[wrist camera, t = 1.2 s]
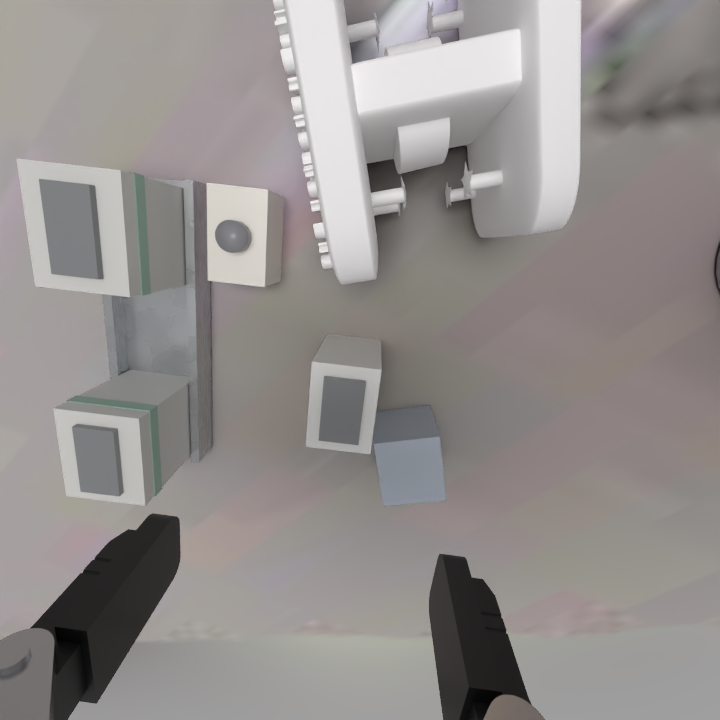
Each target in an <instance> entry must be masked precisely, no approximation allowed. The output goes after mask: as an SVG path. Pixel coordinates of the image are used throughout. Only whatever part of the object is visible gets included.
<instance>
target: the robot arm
mask: <svg viewBox="0 0 720 720" xmlns="http://www.w3.org/2000/svg"><path fill="white" fill-rule="evenodd" d="M716 275H717V280H718V286H719V289H720V250H719V254H718V257H717V269H716ZM179 562H180V523H179V518H178V517H175V516H168V515H160V514H151V515H149V516H148V517H147V518H146V519H145V521H144V522H143V523H142V524H141V525H140V526H139V528H138V529H137V530H129V529H128V530H127V531H125V532H123V533H122V534H120V535H119V536H117V537H116V538H114V539H113V540H111V541H110V542H109V543H108V544H107V545H106V546H105V547H104V548H103V549H102V550H101V551H100V553H99V554H98V555H97V556H96V557H95V560H92V561H91V562H90V564H89V565H88V566H87V567H86V568H85V569H84V571H83V573H80V575H79V576H78V577H77V578H76V579H75V580H74V581H73V582H72V583H71V584H70V586H69V587H68V588H67V589H66V590H65V591H64V592H63V593H62V594H61V595H60V597H59V598H58V599H57V600H56V601H55V602H54V603H53V604H52V605H51V606H50V608H49V609H48V610H47V611H46V612H45V613H44V614H43V615H42V616H41V617H40V619H39V620H38V621H37V622H36V623H35V624H34V625H33V626H32V627H31V628H30V629H25V630H22V631H19V632H16V633H13V634H11V635H9V636H7V637H5V638H3V639H2V640H0V720H68V718H69V716H70V715H71V713H72V712H73V710H74V709H75V707H76V705H77V704H78V703H79V701H82V702H89V703H97V702H98V700H99V699H100V697H101V695H102V694H103V692H104V691H105V689H106V687H107V686H108V684H109V682H110V681H111V679H112V677H113V676H114V674H115V673H116V671H117V669H118V668H119V666H120V665H121V663H122V661H123V660H124V658H125V657H126V655H127V653H128V652H129V650H130V648H131V646H132V645H133V644H134V642H135V640H136V639H137V637H138V635H139V634H140V632H141V631H142V629H143V627H144V626H145V624H146V622H147V621H148V619H149V618H150V616H151V614H152V613H153V611H154V610H155V608H156V606H157V605H158V603H159V601H160V600H161V598H162V597H163V595H164V593H165V592H166V590H167V588H168V587H169V585H170V584H171V582H172V580H173V579H174V577H175V575H176V572H177V569H178V566H179ZM429 615H430V623H431V631H432V638H433V645H434V653H435V660H436V668H437V676H438V683H439V691H440V698H441V706H442V713H443V720H545V719H544V718H543V716H542V715H541V714H540V713H539V712H538V711H537V709H536V708H534V707H533V706H532V704H531V702H530V700H529V698H528V695H527V692H526V689H525V686H524V683H523V680H522V677H521V674H520V671H519V668H518V665H517V662H516V659H515V656H514V652H513V649H512V646H511V643H510V640H509V637H508V634H506V628H505V625H504V622H503V619H502V618H501V613H500V610H499V606H498V603H497V600H496V597H495V595H494V594H493V592H492V591H491V590H490V588H489V587H488V586H487V584H486V583H485V582H484V580H483V579H477V578H471V574H470V571H469V567H468V563H467V560H466V558H465V557H460V556H453V555H445V554H439V556H438V560H437V564H436V568H435V573H434V577H433V581H432V586H431V590H430V597H429Z"/></svg>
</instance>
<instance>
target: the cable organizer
mask: <svg viewBox="0 0 720 720" xmlns="http://www.w3.org/2000/svg"><path fill="white" fill-rule="evenodd" d="M273 3H274V6H275V9H276V11H274V15H275V17H276V20H277V21H275V26H276V28H277V30H278V32H279V34H280V42H281V46H282V49H281V50H280V51H281V56H282V61H283V65H284V68H285V71H286V73H287V75H288V76H289V75H294V74H296V77H293V78H288V83H289V90H290V92H294V94H300V96H297V97H292V98H291V101H292V106H293V110H294V113H295V115H296V116H295V117H293V118H294V120H295V122H296V127H297V128H300V130H301V133H298V139H299V143H300V146H301V148H302V150H304V151H305V153H302V160H303V165H304V164H307V166H304V169H303V171H304V172H305V176H306V178H307V177H309V178H310V181H309V182H307V187H308V192H309V195H310V197H311V198H318V200H315V201H310V203H311V209H312V212H313V211H319V210H320V211H321V216H322V223H316V224H313V228H314V233H315V236H316V238H317V239H320V238H326V242H323V243H318V246H319V252H320V253H322V252H328V251H329V254H325V255H322V256H321V263H322V267H323V269H324V270H325V269H331V268H333V269H334V271H335V274H336V276H337V279H338V280H339V282H340V283H341V284H342V285H345V284H351V283H357V282H363V281H370V280H375V279H376V277H377V273H378V243H377V233H376V226H375V219H374V216H375V215H380V214H386V213H392V212H397V211H398V217H399V215H400V203H403V208H404V207H405V208H406V190H405V186H404V183H403V180H402V176H401V187H400V188H394V189H389V190H383V191H378V192H372V193H371V191H370V183H369V176H368V169H367V163H374V162H379V161H384V160H390V159H394V162H395V166H396V170H397V172H398V174H402V173H406V172H410V171H414V170H418V169H422V168H426V167H431V166H435V165H439V164H442V163H443V162H444V161H445V159H446V156H447V153H448V148H453V147H458V146H464V145H467V154H468V168H469V171H468V169H467V165H466V161H465V169H464V176H463V177H462V179H461V181H462V183H463V185H464V188H458V189H453V190H451V187H448V182H447V179H446V190H445V192H444V194H445V198H446V206H447V208H448V204H450V206H451V202H454V201H460V200H465V199H471V208H472V215H473V220H474V225H475V228H476V231H477V233H478V235H479V236H480V237H481V238H489V237H507V236H524V235H532V234H538V233H544V232H550V231H556V230H560V229H561V228H562V227H564V226H565V224H566V223H567V222H568V220H569V218H570V216H571V213H572V211H573V208H574V205H575V201H576V197H577V192H578V186H579V177H580V126H581V0H458V11H454V12H450V13H445V14H441V15H436V16H432V12H433V3H432V6H431V9H430V5H429V1H428V16H427V30H428V34H429V39H424V40H419V41H415V42H410V43H406V44H401V45H396V46H392V47H387V48H385V52H384V57H380V58H375V59H370V60H366V61H361V62H357V63H354V64H353V63H352V56H351V49H350V42H355V41H359V40H364V39H369V38H373V37H376V40H377V46H378V55H379V32H380V31H379V26H378V21H377V17H376V12H375V13H374V17H375V20H371V21H366V22H362V23H357V24H353V25H348V26H347V22H346V15H345V8H344V1H343V0H273ZM446 5H447V0H446ZM456 28H459V41H454V42H449V43H445V44H442V43H441V40H440V38H439V37H433V38H431V34H433V33H438V32H442V31H447V30H451V29H456ZM309 151H310V152H309ZM451 207H452V206H451Z"/></svg>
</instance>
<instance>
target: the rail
mask: <svg viewBox="0 0 720 720" xmlns="http://www.w3.org/2000/svg"><path fill="white" fill-rule="evenodd" d="M146 178H149V179H153V180H156V181H160V182H163V183H167V184H170V185H174V186H177V187H181V188H184V222H185V257H186V285H185V286H180V287H176V288H171V289H166V290H162V291H157V292H152V293H151V294H149V295H144V296H140V295H138V296H134V297H123V296H114V295H106V294H102V295H103V305H104V316H105V326H106V336H107V347H108V357H109V368H110V378H111V379H113V378H115V377H117V376H119V375H121V374H123V373H125V372H127V371H129V370H137V371H145V372H153V373H162V374H170V375H178V376H187V377H189V395H190V429H191V462H200V461H201V460H202V458H203V457H204V456H205V455H206V453H207V452H208V451H209V450H210V449H211V447H212V375H211V281H208V260H207V185H205V184H202V183H199V182H196V181H194V180H186V179H183V181H177V180H168V179H159V178H150V177H146Z"/></svg>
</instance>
